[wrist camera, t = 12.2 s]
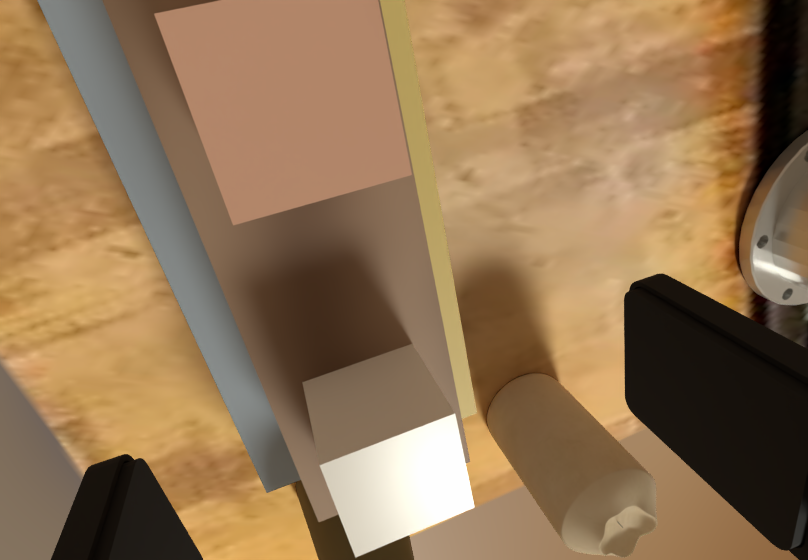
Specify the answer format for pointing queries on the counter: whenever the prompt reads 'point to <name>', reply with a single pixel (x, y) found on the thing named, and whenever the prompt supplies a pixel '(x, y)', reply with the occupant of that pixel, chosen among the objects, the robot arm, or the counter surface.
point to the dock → (179, 238)
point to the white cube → (387, 448)
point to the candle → (573, 467)
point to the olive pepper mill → (345, 537)
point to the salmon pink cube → (288, 99)
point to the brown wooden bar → (299, 261)
